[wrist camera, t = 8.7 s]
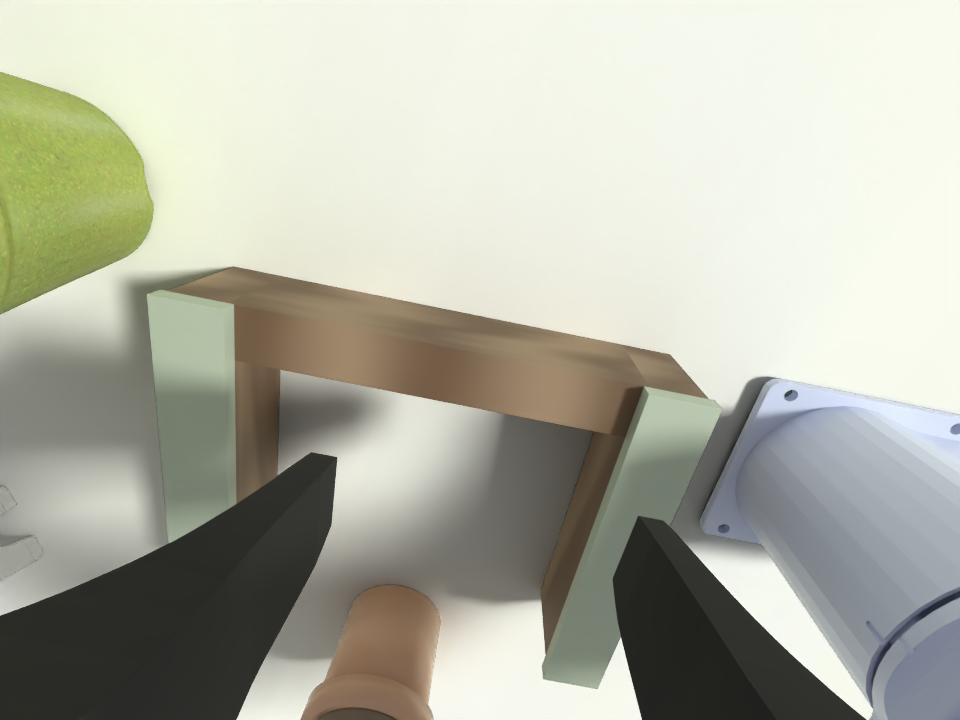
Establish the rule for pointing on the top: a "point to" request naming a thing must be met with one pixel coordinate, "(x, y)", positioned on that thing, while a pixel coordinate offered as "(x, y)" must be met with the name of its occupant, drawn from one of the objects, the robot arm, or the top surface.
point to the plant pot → (63, 191)
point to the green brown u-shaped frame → (434, 375)
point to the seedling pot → (381, 660)
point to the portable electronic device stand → (16, 544)
